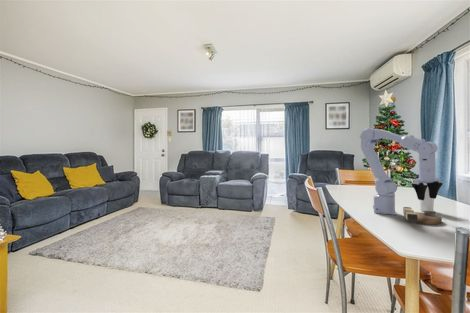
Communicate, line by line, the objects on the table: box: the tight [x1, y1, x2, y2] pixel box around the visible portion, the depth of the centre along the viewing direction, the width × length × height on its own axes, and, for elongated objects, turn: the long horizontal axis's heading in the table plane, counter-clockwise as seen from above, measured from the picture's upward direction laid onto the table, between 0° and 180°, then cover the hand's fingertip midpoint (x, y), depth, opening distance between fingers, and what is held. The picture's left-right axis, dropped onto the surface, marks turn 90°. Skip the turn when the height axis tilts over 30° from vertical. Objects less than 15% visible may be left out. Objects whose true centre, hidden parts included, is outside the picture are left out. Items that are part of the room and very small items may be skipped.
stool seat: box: [404, 210, 443, 226], centre depth 106 cm, size 13×13×4 cm
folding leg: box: [402, 206, 417, 224], centre depth 103 cm, size 14×3×3 cm, turn 151°
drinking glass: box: [418, 181, 435, 212], centre depth 120 cm, size 7×7×15 cm
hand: (426, 199), depth 105 cm, fingers open, 7 cm apart
